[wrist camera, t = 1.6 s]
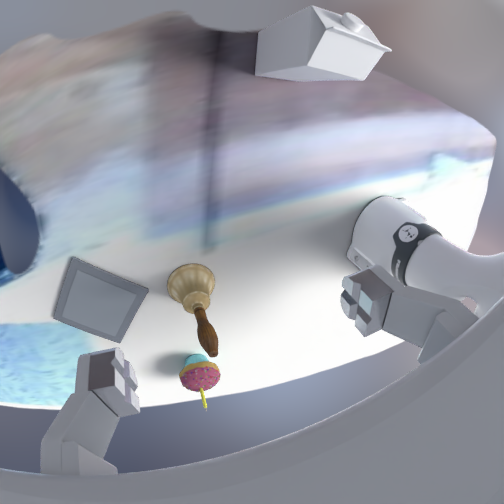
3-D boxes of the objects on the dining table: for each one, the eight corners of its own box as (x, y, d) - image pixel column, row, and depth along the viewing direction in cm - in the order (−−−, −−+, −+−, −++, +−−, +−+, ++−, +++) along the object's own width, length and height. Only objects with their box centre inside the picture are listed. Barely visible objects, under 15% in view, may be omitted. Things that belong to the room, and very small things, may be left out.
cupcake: (210, 372, 61) (224, 414, 51) (174, 372, 58) (183, 417, 48) (218, 347, 58) (234, 392, 48) (178, 347, 54) (189, 395, 44)
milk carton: (298, 82, 37) (390, 82, 21) (253, 75, 34) (330, 63, 19) (302, 40, 33) (393, 21, 18) (257, 32, 31) (334, -6, 15)
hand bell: (209, 257, 47) (237, 324, 34) (218, 295, 51) (245, 363, 38) (161, 270, 45) (171, 342, 32) (174, 308, 49) (189, 379, 36)
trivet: (148, 288, 45) (148, 291, 45) (120, 341, 49) (119, 343, 48) (72, 256, 38) (72, 258, 37) (53, 316, 41) (53, 318, 41)
